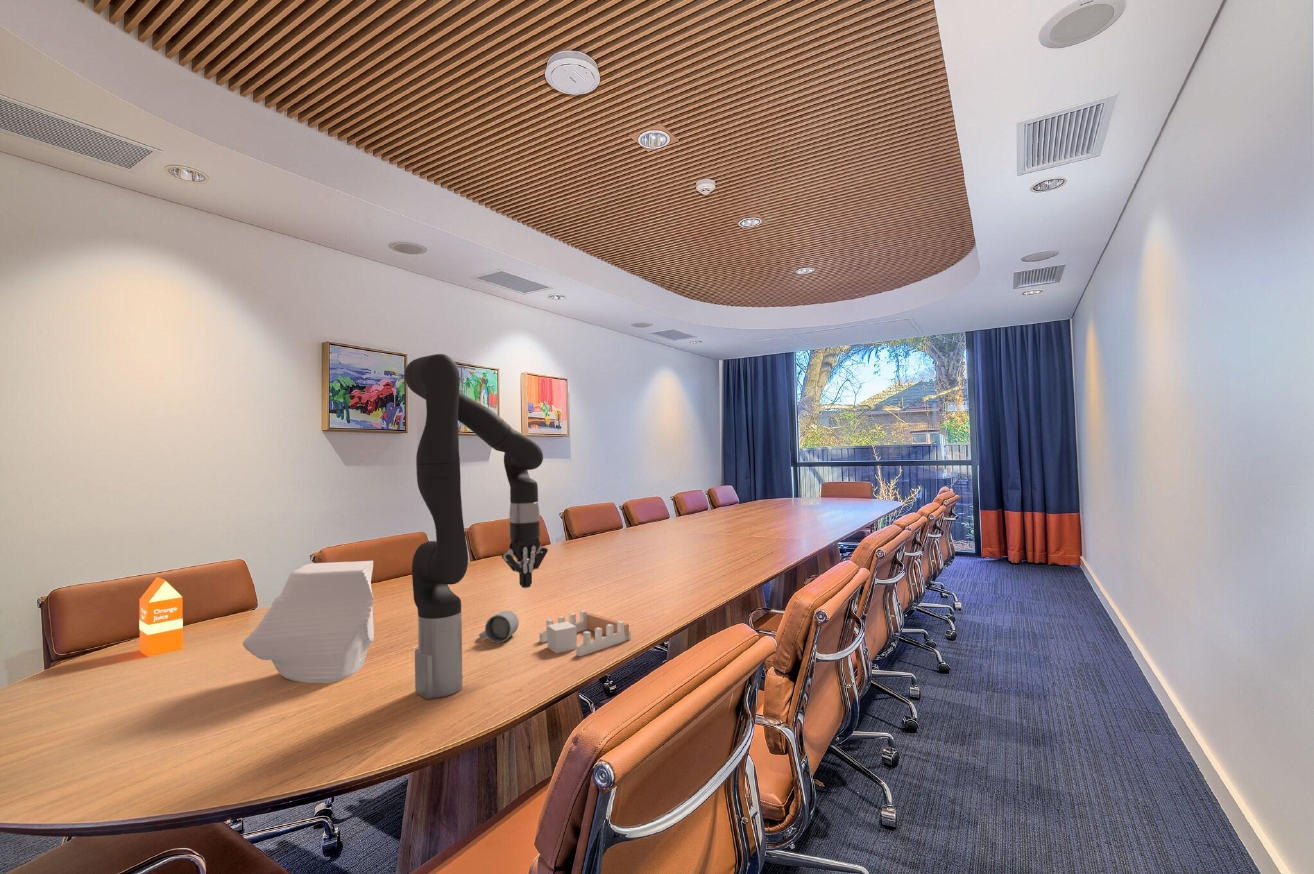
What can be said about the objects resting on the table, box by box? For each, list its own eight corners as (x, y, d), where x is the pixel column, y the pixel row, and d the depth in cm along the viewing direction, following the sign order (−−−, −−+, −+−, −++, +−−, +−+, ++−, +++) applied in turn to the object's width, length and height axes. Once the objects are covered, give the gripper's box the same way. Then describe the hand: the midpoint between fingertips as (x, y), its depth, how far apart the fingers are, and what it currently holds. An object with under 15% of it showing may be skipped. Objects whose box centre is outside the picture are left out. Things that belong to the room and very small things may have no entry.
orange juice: (147, 657, 158) (147, 582, 159) (139, 651, 163) (138, 579, 164) (183, 648, 164) (183, 577, 165) (174, 643, 170) (173, 574, 170)
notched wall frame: (580, 656, 151) (579, 635, 151) (539, 641, 164) (539, 622, 164) (630, 639, 164) (630, 619, 164) (589, 626, 177) (589, 608, 177)
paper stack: (358, 684, 136) (356, 573, 137) (239, 688, 135) (238, 577, 136) (395, 652, 157) (393, 556, 158) (292, 656, 156) (291, 559, 157)
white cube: (576, 649, 157) (576, 626, 158) (556, 653, 154) (555, 630, 154) (567, 643, 162) (567, 621, 163) (547, 647, 159) (547, 625, 159)
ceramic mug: (520, 633, 171) (519, 607, 171) (511, 643, 163) (510, 615, 163) (485, 634, 172) (484, 608, 172) (474, 643, 164) (473, 616, 164)
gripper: (509, 523, 144) (511, 594, 143) (554, 518, 153) (555, 584, 153) (494, 521, 149) (495, 589, 149) (537, 516, 158) (539, 580, 158)
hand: (525, 587), depth 151 cm, fingers closed
